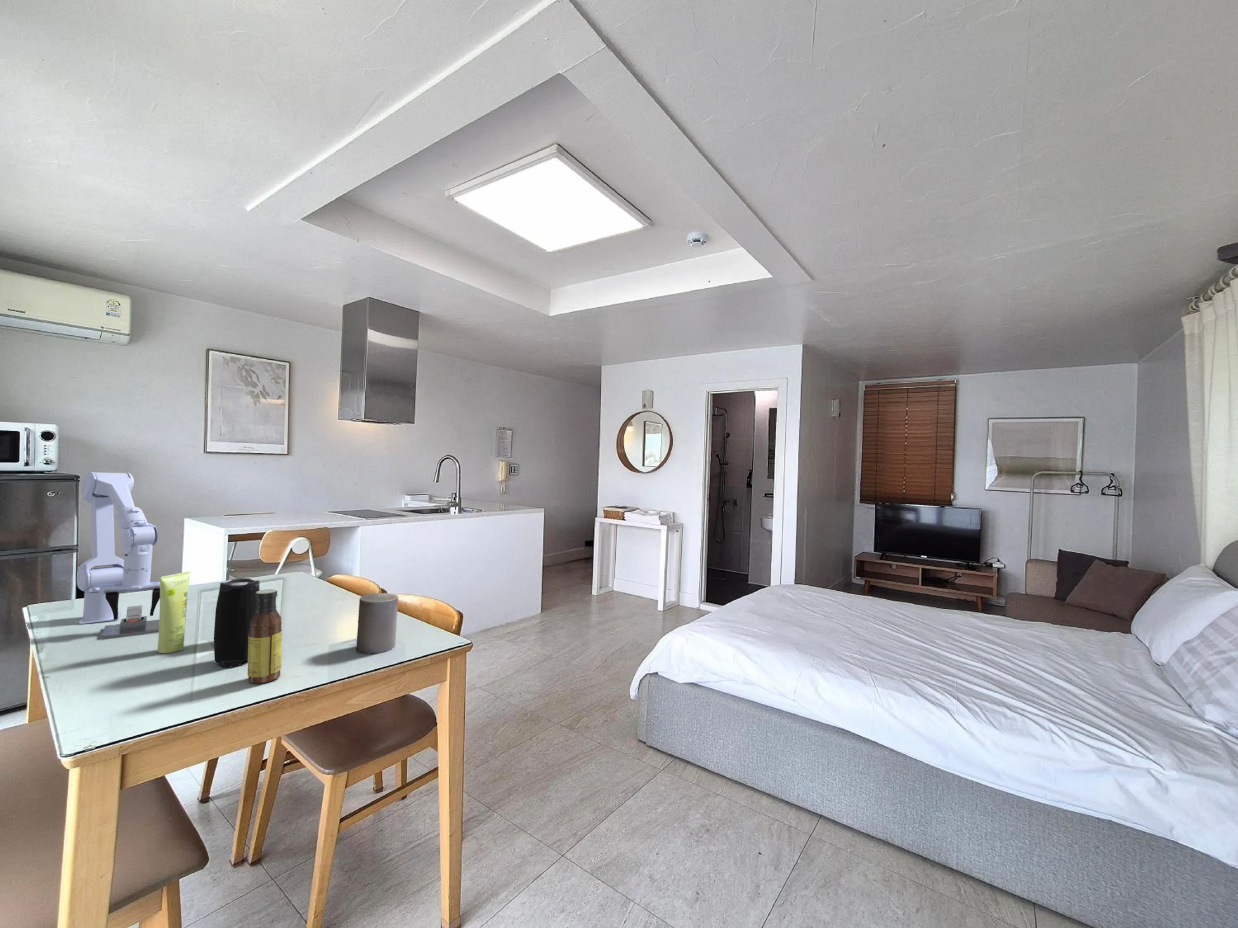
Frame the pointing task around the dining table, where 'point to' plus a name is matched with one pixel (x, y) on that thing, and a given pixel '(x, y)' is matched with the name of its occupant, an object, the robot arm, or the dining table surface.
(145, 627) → the grey slotted base
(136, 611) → the column
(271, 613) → the sauce bottle
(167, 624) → the tube
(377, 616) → the pillar candle
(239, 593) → the portable speaker
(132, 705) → the dining table surface
